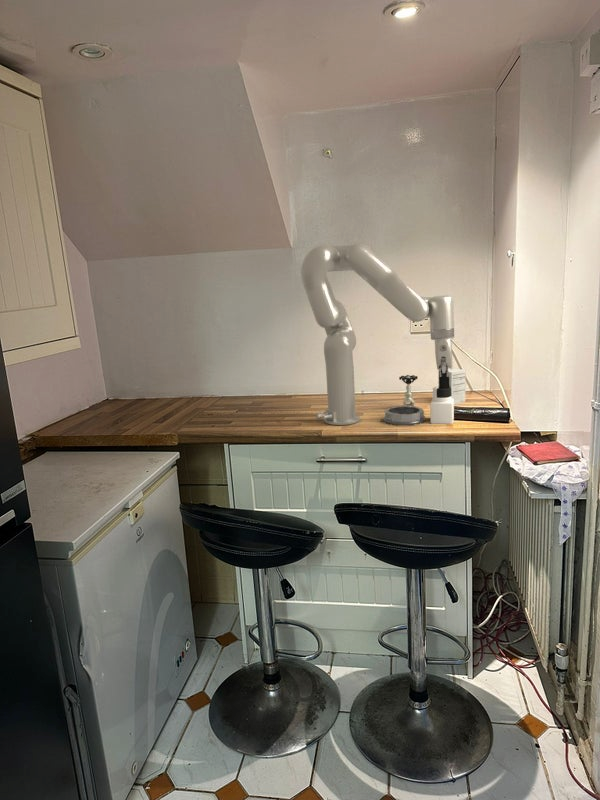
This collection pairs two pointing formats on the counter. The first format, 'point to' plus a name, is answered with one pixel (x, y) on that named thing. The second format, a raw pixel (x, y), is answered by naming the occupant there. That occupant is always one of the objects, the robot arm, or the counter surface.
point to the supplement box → (457, 384)
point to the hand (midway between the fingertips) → (444, 385)
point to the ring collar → (404, 415)
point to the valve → (408, 389)
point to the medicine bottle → (442, 406)
